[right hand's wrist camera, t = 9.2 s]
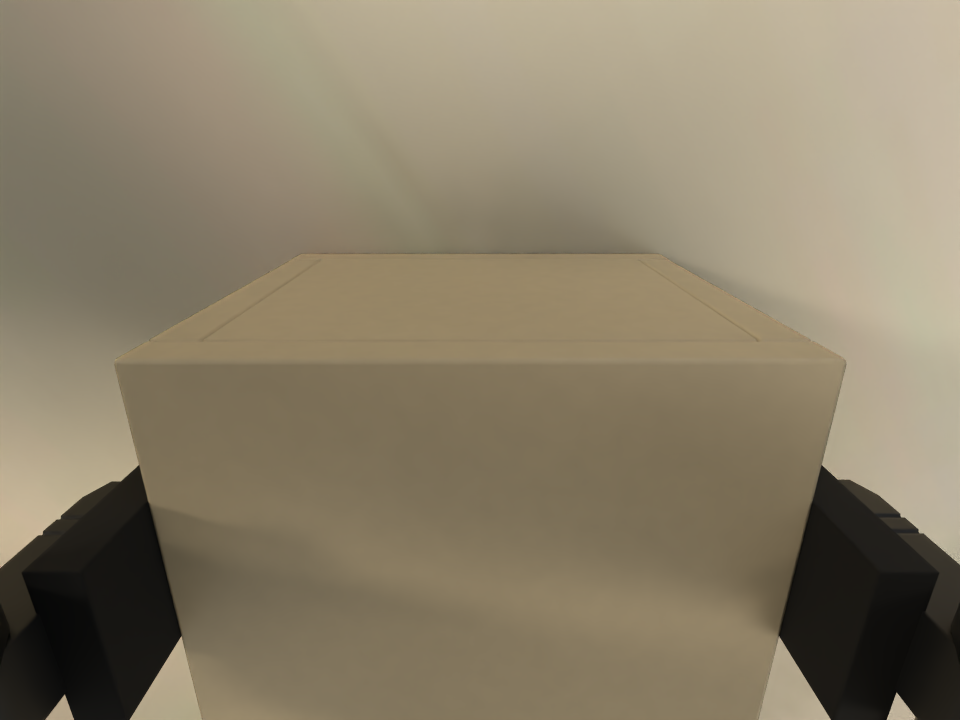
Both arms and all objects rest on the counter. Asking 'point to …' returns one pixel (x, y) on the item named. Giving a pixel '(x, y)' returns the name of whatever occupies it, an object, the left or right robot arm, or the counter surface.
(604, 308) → the cabinet
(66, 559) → the right robot arm
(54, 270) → the counter surface
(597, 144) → the counter surface
